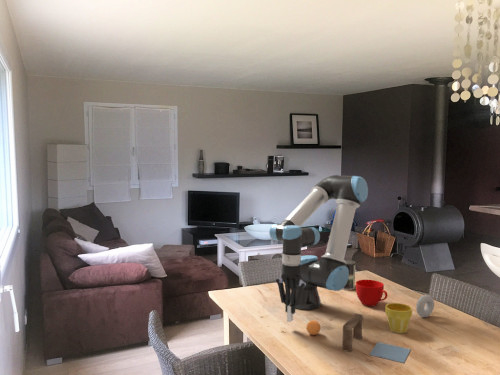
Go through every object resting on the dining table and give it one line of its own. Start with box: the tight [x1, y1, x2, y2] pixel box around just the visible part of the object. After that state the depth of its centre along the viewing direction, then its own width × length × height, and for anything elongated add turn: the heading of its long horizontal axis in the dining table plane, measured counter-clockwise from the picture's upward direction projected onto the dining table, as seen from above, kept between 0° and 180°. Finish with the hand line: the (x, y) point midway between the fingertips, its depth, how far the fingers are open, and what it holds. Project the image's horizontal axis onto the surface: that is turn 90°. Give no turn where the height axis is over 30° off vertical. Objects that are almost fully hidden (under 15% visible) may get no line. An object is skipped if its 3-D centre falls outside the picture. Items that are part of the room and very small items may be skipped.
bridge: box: [342, 313, 364, 352], centre depth 166 cm, size 3×14×9 cm, turn 149°
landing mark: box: [369, 341, 412, 364], centre depth 159 cm, size 12×12×1 cm
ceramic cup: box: [355, 279, 388, 307], centre depth 208 cm, size 13×17×10 cm
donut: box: [415, 294, 435, 318], centre depth 193 cm, size 10×4×10 cm, turn 120°
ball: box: [306, 319, 321, 336], centre depth 174 cm, size 6×6×6 cm
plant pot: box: [385, 302, 413, 334], centre depth 179 cm, size 10×10×10 cm
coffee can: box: [341, 258, 357, 291], centre depth 235 cm, size 10×10×14 cm
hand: (290, 320), depth 179 cm, fingers closed
